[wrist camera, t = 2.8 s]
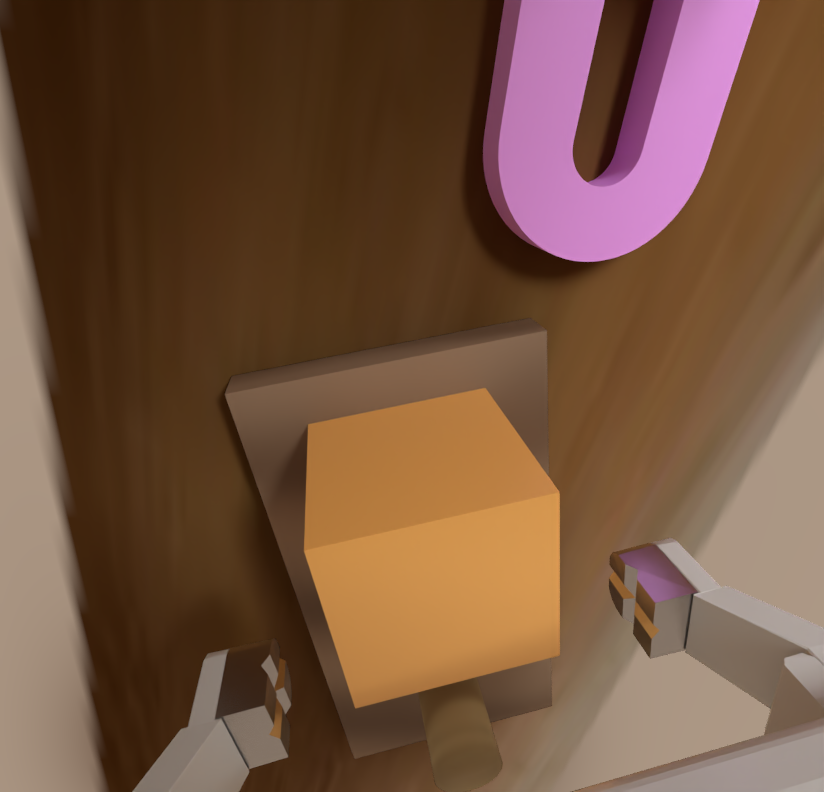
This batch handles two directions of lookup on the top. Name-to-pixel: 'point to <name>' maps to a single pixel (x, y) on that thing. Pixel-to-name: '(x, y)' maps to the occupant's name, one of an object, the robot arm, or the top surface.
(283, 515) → the peg board
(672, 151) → the bracket
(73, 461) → the top surface
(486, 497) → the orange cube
